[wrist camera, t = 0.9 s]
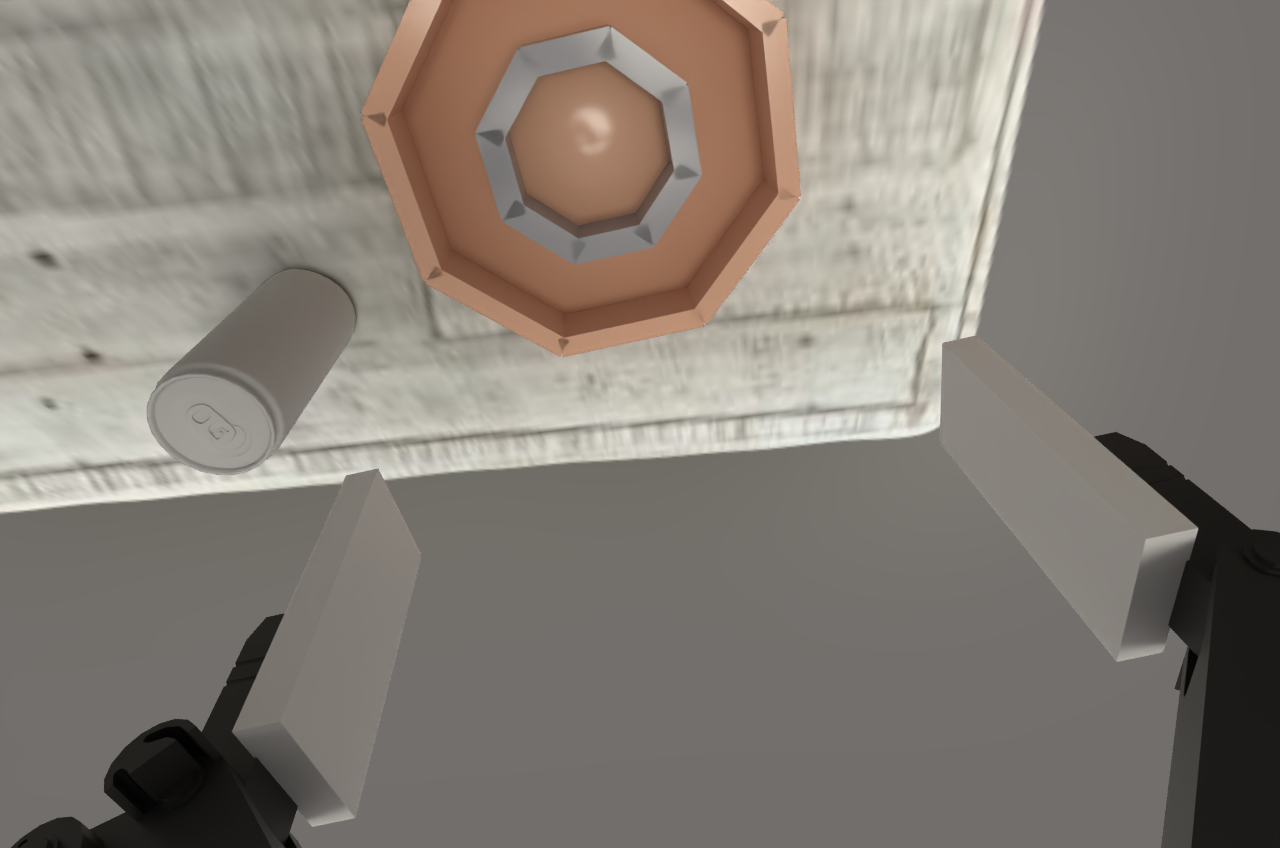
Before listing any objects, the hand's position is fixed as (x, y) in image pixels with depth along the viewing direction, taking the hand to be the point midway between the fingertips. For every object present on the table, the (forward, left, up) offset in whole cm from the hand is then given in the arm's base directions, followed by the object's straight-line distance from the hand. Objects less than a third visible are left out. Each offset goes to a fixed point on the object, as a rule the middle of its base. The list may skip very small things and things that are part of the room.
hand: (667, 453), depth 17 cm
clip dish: (-3, +2, -23) cm, 23 cm away
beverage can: (-11, -13, -23) cm, 29 cm away
